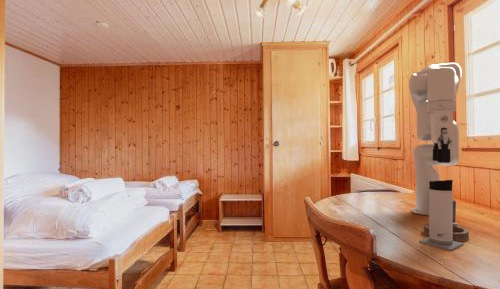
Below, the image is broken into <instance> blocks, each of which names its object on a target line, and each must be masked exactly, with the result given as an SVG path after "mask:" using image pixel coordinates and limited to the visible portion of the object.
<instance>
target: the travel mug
mask: <svg viewBox="0 0 500 289" xmlns="http://www.w3.org/2000/svg"><path fill="white" fill-rule="evenodd" d="M453 182H454V179H445V180H440V181H429V186H430V187H429V190H430V191H429V215H428V223H429V236H428V237H429V240H430V241H431V242H433V243H436V244H441V245H451V244H452V243H453V239H452V238H453V200H454V198H453V196H454V194H453V192H454V191H453Z"/></svg>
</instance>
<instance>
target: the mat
mask: <svg viewBox="0 0 500 289" xmlns="http://www.w3.org/2000/svg"><path fill="white" fill-rule="evenodd" d="M418 243H419V244H422V245H427V246H429V247H433V248H437V249H441V250H444V251H449V252H453V251H454V250H457V249H460V247H463V246H464V242H461V241H453V243H452V244H451V245H441V244H436V243H433V242H431V241H430V240H429V236H428V237H426V238H423V239H421V240H419V241H418Z"/></svg>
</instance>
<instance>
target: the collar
mask: <svg viewBox="0 0 500 289" xmlns="http://www.w3.org/2000/svg"><path fill="white" fill-rule="evenodd" d="M458 224H459V223H457V222H455V223H453V238H452V239H453V241H456V242H466V241H468V240H470V238H469V234H470V233H469V230H468V229H467V228H464V227H463V226H462V227H461V226H459V225H458ZM423 228H424V230H423V232H424V234H425V235H427V236H428V237H429V222H428V223H426V224H424V226H423ZM467 239H468V240H467Z"/></svg>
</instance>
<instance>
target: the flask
mask: <svg viewBox="0 0 500 289" xmlns="http://www.w3.org/2000/svg"><path fill="white" fill-rule="evenodd" d="M456 210H457V201H456V200H455V199H453V223H456V218H457V217H456V214H457V213H456V212H457V211H456Z"/></svg>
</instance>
